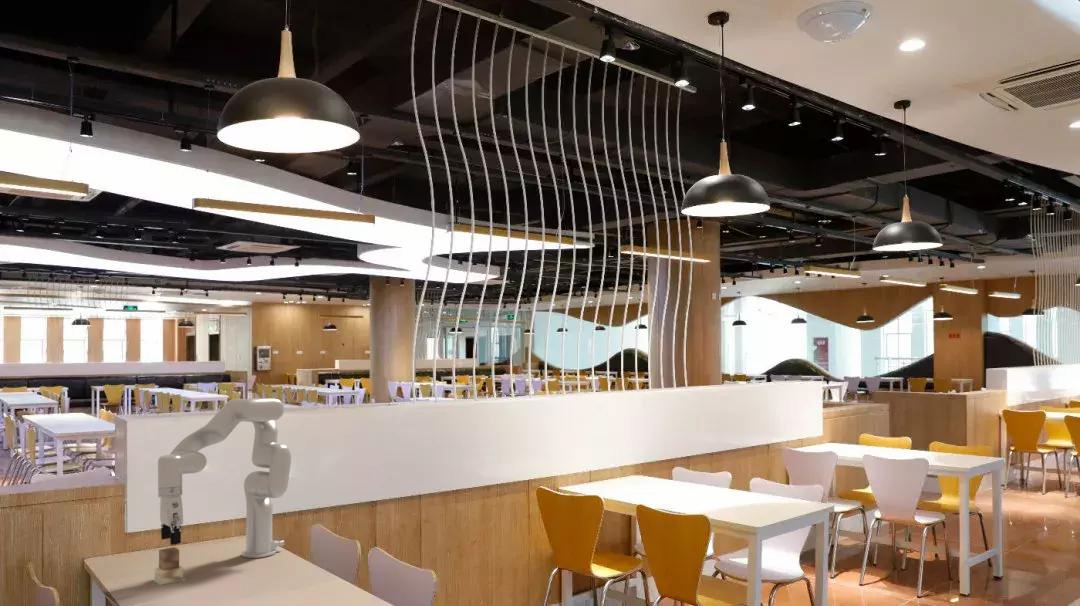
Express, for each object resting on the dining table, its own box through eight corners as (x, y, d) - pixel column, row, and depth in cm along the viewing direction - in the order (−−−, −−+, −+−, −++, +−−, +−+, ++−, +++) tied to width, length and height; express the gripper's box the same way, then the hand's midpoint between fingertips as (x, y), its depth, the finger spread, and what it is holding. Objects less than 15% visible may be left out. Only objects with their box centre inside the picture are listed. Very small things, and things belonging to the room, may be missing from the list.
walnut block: (174, 564, 269) (174, 547, 270) (179, 567, 266) (179, 549, 266) (158, 567, 266) (159, 549, 266) (163, 570, 262) (163, 552, 263)
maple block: (176, 575, 271) (176, 563, 271) (182, 579, 265) (183, 567, 266) (154, 579, 266) (154, 567, 266) (161, 583, 261) (161, 571, 261)
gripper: (190, 493, 263) (190, 543, 263) (173, 486, 276) (174, 534, 276) (166, 496, 258) (167, 548, 258) (150, 489, 271) (151, 538, 271)
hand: (170, 541), depth 267 cm, fingers open, 9 cm apart
